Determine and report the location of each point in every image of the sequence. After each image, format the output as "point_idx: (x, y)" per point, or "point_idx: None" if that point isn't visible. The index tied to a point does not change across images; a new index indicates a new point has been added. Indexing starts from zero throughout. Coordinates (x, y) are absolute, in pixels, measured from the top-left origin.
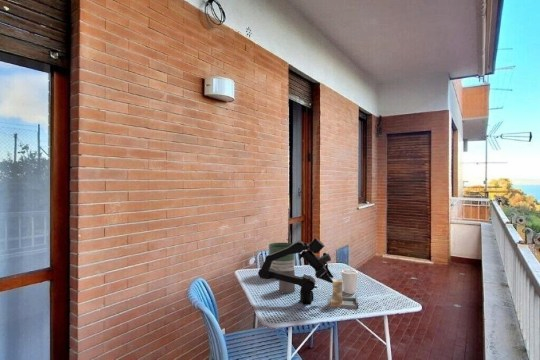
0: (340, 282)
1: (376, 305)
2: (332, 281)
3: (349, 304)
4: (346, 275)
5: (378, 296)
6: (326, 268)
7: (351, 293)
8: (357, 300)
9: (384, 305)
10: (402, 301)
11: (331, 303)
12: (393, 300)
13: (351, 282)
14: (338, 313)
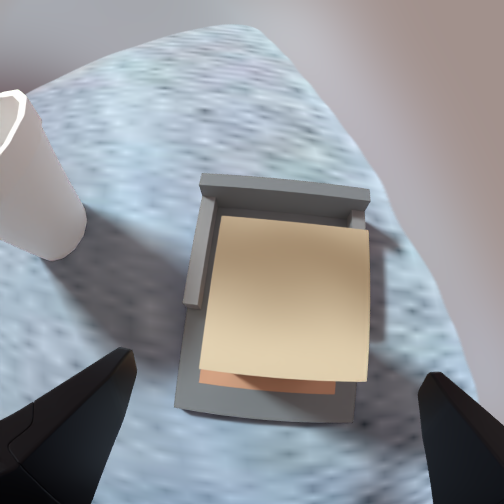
0: (369, 256)
1: (254, 118)
2: (445, 380)
3: None
4: (6, 174)
5: (127, 102)
6: (8, 498)
7: (82, 216)
8: (325, 186)
9: (250, 92)
10: (198, 44)
11: (291, 389)
12: (184, 62)
13: (51, 171)
14: (422, 341)
